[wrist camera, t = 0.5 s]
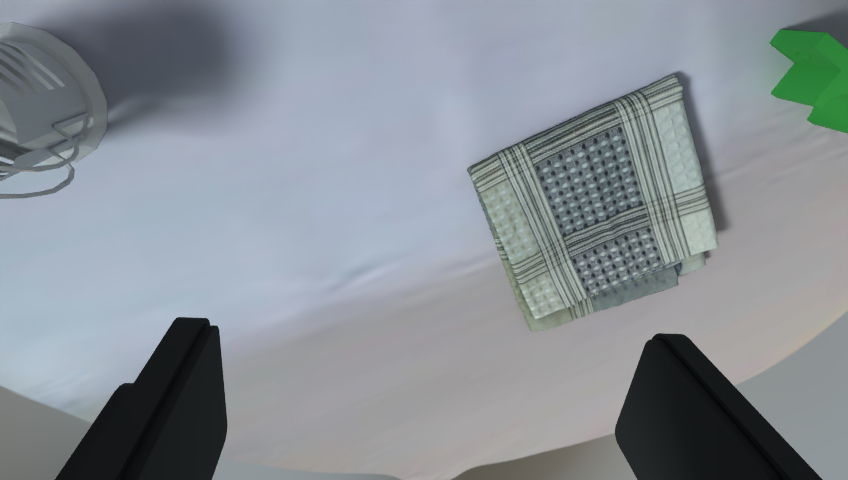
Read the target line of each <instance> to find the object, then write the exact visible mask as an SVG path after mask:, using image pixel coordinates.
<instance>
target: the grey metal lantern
mask: <svg viewBox="0 0 848 480" xmlns="http://www.w3.org/2000/svg"><path fill="white" fill-rule="evenodd" d="M106 129H107V100H106V98H105V96H104V93H103V91H102V88H101V86H100V83H99V81H98V78H97V76H96V74H95V73H94V72H93V71H92V69H91V68H90V67H89V66H88V65H87V64H86V62H85V61H84V60H83V59H82V58H81V57H80V55H79V54H78V53H77V52H76V51H75V50H74V49H73V48H72V47H70V46H68V45H67V44H65V43H64V42H62V41H61V40H59V39H57V38H56V37H54V36H53V35H51V34H50V33H48V32H46V31H45V30H41V29H37V28H33V27H29V26H25V25H21V24H17V23H13V22H12V23H5V24H0V157H1V158H4V159H7V160H10V161H14V163H13V164H8V163H4V162H1V161H0V173H8V172H9V173H8V174H7V175H0V178H1V179H0V181H2V180H4V179H6V178H8V177H10V176H12V175H15V174H17V173H19V172H21V171H29V172H40V171H45V170H51V169H56V168H60V167H62V166H64V165H65V166H66V167H67V168H68V169H69V174H68V179H66V180H65V181H63V182H62V183H60V184H59V185H58V186H56V187H55V188H53V189H49V190H45V191H41V192H35V193H26V194H0V199H9V198H28V197H35V196H42V195H48V194H52V193H55V192H57V191H59V190H60V189H62V188H64V187H65V186H67V185H69V184H70V182H71V181H72V180H73V178H74V168H73V167H72V166H71V164H70V163H73V162H77V161H79V160H80V159H82V158H83V157H85V156H86V155H88V154H89V153H91V152H93V151H94V150H96V149H97V147H98V145H99V143H100V141H101V139H102V137H103V135H104V133H105V131H106ZM38 163H40V164H45V165H44V166H37V167H32V166H34V165H36V164H38Z"/></svg>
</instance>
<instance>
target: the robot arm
mask: <svg viewBox="0 0 848 480" xmlns="http://www.w3.org/2000/svg"><path fill="white" fill-rule="evenodd" d="M226 434H227V415H226V403H225V392H224V381H223V369H222V358H221V347H220V335H219V328H218V326H210V322H209V320H208V319H207V318H185V317H178V318H176V319H175V320H174V321H173V323H172V325H171V326H170V328H169V329H168V331H167V332H166V334H165V335H164V337H163V339H162V340H161V342H160V343H159V345H158V346H157V348H156V349H155V351H154V353H153V354H152V356H151V357H150V359H149V360H148V362H147V363H146V365H145V367H144V368H143V370H142V371H141V373H140V374H139V376H138V378H137V379H136V381H135V382H134V383H124V384H122V385H121V386H119V387H118V388H117V390H116V391H115V392H114V393H113V395H112V396H111V398H110V399H109V401H108V402H107V404H106V405H105V407H104V408H103V410H102V411H101V412H100V414H99V415H98V417H97V418H96V420H95V421H94V423H93V424H92V426H91V427H90V429H89V430H88V432H87V433H86V435H85V436H84V438H83V439H82V440H81V442H80V444H79V445H78V446H77V448H76V449H75V451H74V453H73V454H72V455H71V457H70V458H69V460H68V461H67V463H66V464H65V466H64V467H63V469H62V470H61V471H60V473H59V474H58V476H57V477H56V479H55V480H212V477H213V474H214V472H215V468H216V466H217V463H218V460H219V457H220V454H221V451H222V448H223V446H224V442H225V439H226ZM615 436H616V440H617V443H618V445H619V447H620V449H621V450H622V452H623V454H624V456H625V457H626V459H627V461H628V463H629V465H630V467H631V469H632V470H633V472H634V474H635V476H636V477H637V479H638V480H822V479H821V478H820V477H819V475H818V474H817V473H816V472H815V471H814V470H813V469H812V468H811V467H810V466H809V465H808V464H807V463H806V462H805V461H804V460H803V459H802V458H801V456H800V455H799V454H798V453H797V452H796V451H795V450H794V449H793V448H792V447H791V446H790V445H789V444H788V443H787V442H786V441H785V440H784V439H783V438H782V436H781V435H780V434H779V433H778V432H777V431H776V430H775V429H774V428H773V427H772V426H771V425H770V424H769V423H768V422H767V421H766V419H765V418H763V416H762V415H761V414H760V413H759V412H758V411H757V410H756V409H755V408H754V407H753V406H752V405H751V404H750V403H749V402H748V401H747V399H745V397H744V396H743V395H742V394H741V393H740V392H739V391H738V390H737V389H736V388H735V387H734V386H733V385H732V384H731V383H730V381H729V380H728V379H727V378H726V377H725V376H724V375H723V374H722V373H721V372H720V371H719V370H718V369H717V368H716V367H715V366H714V365H713V363H712V362H711V361H710V360H709V359H708V358H707V357H706V356H705V355H704V354H703V353H702V352H701V351H700V350H699V349H698V348H697V347H696V346H695V344H694V343H693V342H692V341H691V340H690V339H689V338H688V337H686V336H685V335H682V334H660V333H659V334H656V335H655V336H654V337H653V338H652V340H648V341H647V342H646V344H645V346H644V349H643V352H642V355H641V358H640V360H639V363H638V366H637V369H636V371H635V374H634V377H633V380H632V382H631V385H630V388H629V391H628V394H627V396H626V399H625V402H624V405H623V407H622V410H621V413H620V416H619V418H618V421H617V424H616V428H615Z"/></svg>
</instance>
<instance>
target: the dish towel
mask: <svg viewBox="0 0 848 480" xmlns="http://www.w3.org/2000/svg"><path fill="white" fill-rule="evenodd" d="M682 92H683V86H682V84H681V83H680V82H679V81H678V78H677V76H676V75H670V76H668V77H666V78H663V79H661V80H660V81H658V82H656V83H653V84H650V85H648V86H647V87H645V88H642V89H639V90H637V91H635V92H633V93H631V94H628V95H626V96H624V97H622V98H619V99H617V100H614V101H611V102H609V103H607V104H604V105H602V106H600V107H597V108H595V109H592V110H590V111H588V112H586V113H583V114H581V115H579V116H578V117H576V118H574V119H571V120H568V121H567V122H565V123H563V124H561V125H557V126H556V127H554V128H552V129H550V130H547V131H545V132H543V133H540V134H538V135H535V136H533V137H531V138H529V139H526V140H524V141H522V142H520V143H518V144H515V145H513V146H511V147H509V148H507V149H504V150H502V151H500V152H498V153H496V154H494V155H491V156H490V157H488V158H487V159H485V160H483V161H481V162H479V163H477V164H475V165H473V166H471V167H469V168H468V169H467V171H468V173H469V175H470V177H471V179H472V181H473V184H474V187H475V189H476V192H477V195H478V198H479V201H480V203H481V206H482V208H483V211H484V213H485V216H486V219H487V221H488V224H489V227H490V230H491V233H492V235H493V238H494V242H495V244H496V247H497V250H498V252H499V255H500V257H501V260H502V262H503V265H504V267H505V270H506V273H507V275H508V278H509V280H510V283H511V286H512V288H513V291H514V294H515V296H516V300H517V302H518V305H519V307H520V309H521V310H522V312H523V314H524V317H525V319H526V321H527V324H528V326H529V328H530V330H531V332H534V331H540V330H548V329H550V328H555V327H558V326H560V325H562V324H564V323H567V322H571V321H573V320H574V319H577V318H581V317H583V316H586V315H588V314H591V313H594V312H597V311H600V310H605V309H609V308H611V307H615V306H620V305H622V304H623V303H626V302H629V301H631V300H635V299H638V298H641V297H644V296H647V295H650V294H653V293H657V292H660V291H664V290H666V289H669V288H672V287H674V286H678V277H677V276H678V275H683V274H686V273H688V272H689V271H692V270H696V269H700V268H701V267H703V266H705V265H706V262H705V256H704V251H707V250H711V249H715V248H717V247H718V245H719V244H718V237H717V232H716V228H715V224H714V219H713V215H712V211H711V206H710V203H709V200H708V197H707V193H706V189H705V185H704V180H703V176H702V172H701V166H700V163H699V158H698V156H697V153H696V149H695V145H694V141H693V137H692V134H691V130H690V125H689V123H688V119H687V114H686V110H685V107H684V101H683V98H682Z"/></svg>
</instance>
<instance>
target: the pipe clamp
mask: <svg viewBox="0 0 848 480" xmlns="http://www.w3.org/2000/svg"><path fill="white" fill-rule="evenodd" d="M769 44H771V45H772V46H773V47H775V48H776V49H777V50H778V51H780V52H781V53H782V54H784V55H785V56H786V57H788V58H789V59H790V60H791V61H793V62H794V65H793V66H792V67H791V68H790V70H789V71H788V72H787V73H786V75H785V76H784V77H783V78H782V80H781V81H780V82H779V83H778V85H777V86H776V87H775V88H774V90H773V91H772V92H771V94H772V95H774V96H775V97H777V98H780V99H784V100H789V101H793V102H797V103H801V104H805V105H810V106H814V108H813V110H812V113H811V114H810V116H809V117H808V119H807V120H808V121H810V122H811V123H812V124H815V125H819V126H823V127H826V128H830V129H833V130H837V131H841V132H844V133H848V49H847V48H845V47H844V46H843V45H842V44H840V43H839V42H838V41H837V40H836V39H834V38H833V37H832V36H831V35H829V34H828V33H825V32H810V31H794V30H779V31H778V33H777V34H776V35H775V37H774V38H773V39H772V40H771V42H770V43H769Z"/></svg>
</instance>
